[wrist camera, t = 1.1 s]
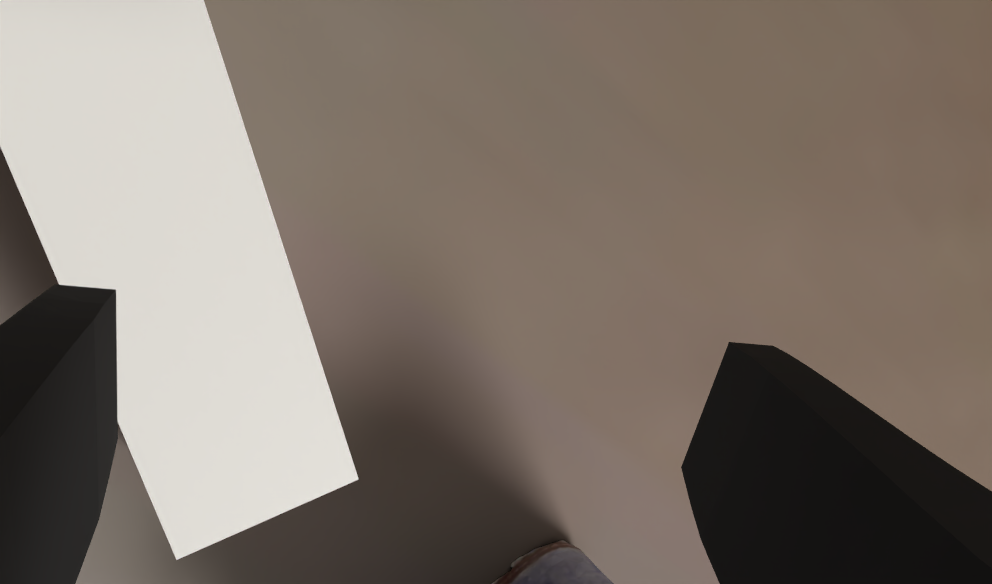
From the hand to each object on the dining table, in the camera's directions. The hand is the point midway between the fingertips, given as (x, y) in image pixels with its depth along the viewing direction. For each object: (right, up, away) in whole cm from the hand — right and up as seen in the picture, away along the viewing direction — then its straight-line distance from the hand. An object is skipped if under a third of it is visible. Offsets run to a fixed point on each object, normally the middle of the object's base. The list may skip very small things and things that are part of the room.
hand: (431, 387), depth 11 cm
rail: (-8, +6, +10) cm, 14 cm away
